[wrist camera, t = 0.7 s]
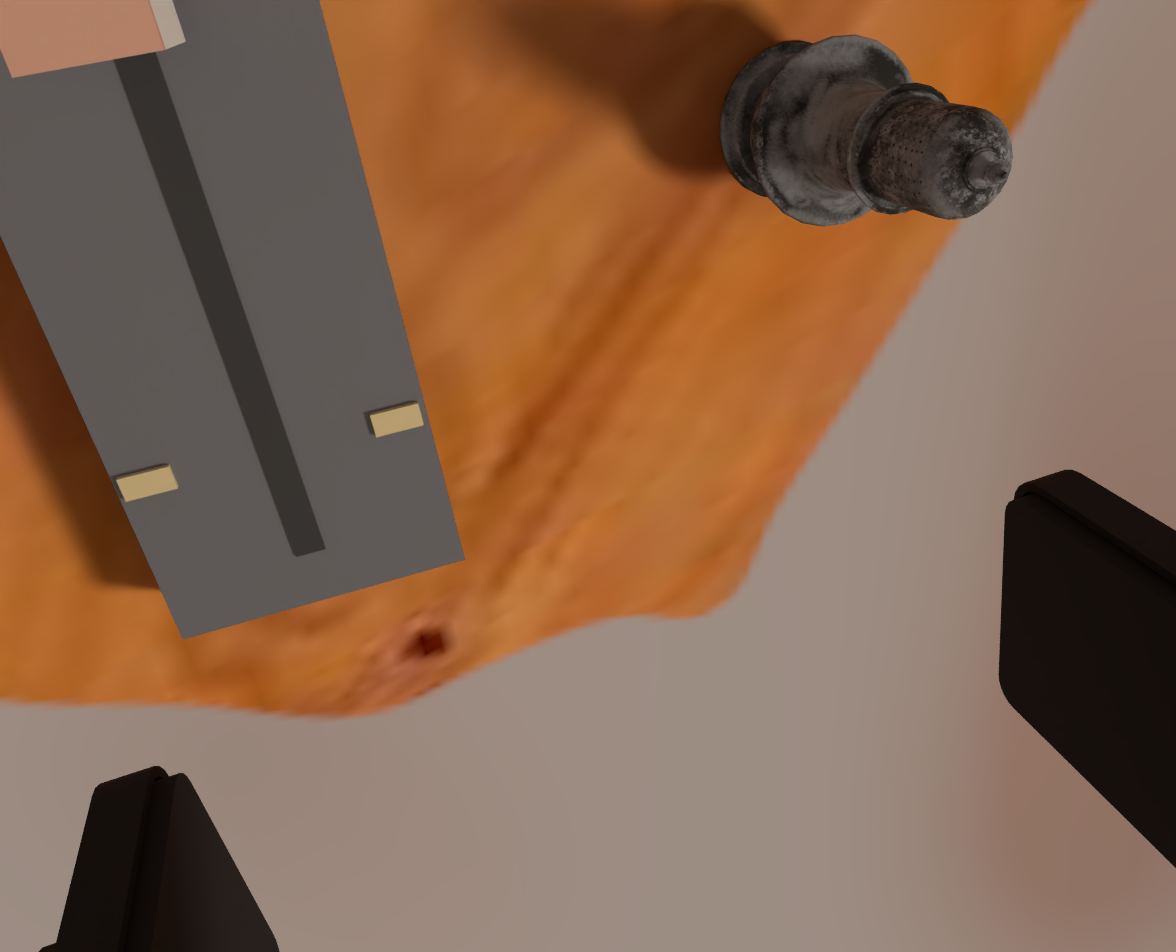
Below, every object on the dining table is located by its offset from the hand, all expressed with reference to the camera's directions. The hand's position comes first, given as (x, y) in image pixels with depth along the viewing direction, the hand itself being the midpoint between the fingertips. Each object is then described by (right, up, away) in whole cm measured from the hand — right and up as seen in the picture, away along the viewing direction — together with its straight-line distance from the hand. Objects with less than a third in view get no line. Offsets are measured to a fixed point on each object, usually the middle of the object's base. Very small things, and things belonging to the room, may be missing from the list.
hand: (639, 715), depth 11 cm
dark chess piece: (+7, +15, +24) cm, 29 cm away
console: (-13, +11, +20) cm, 26 cm away
